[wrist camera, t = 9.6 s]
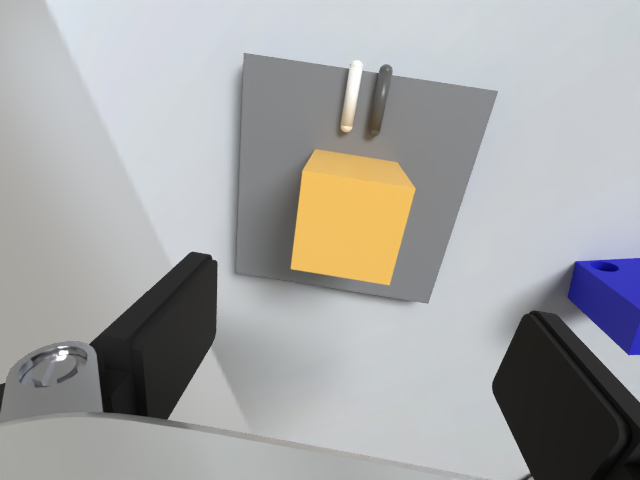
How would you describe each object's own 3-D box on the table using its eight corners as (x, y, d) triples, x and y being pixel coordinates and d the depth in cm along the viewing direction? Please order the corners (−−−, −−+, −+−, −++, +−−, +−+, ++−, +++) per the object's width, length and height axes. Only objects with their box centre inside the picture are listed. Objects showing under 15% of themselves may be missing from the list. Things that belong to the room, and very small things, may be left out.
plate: (423, 292, 25) (444, 347, 20) (241, 262, 25) (212, 309, 20) (490, 82, 19) (546, 79, 14) (251, 46, 19) (213, 29, 14)
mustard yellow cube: (379, 237, 22) (389, 285, 17) (305, 225, 22) (290, 268, 17) (397, 162, 20) (415, 188, 14) (315, 149, 20) (302, 170, 15)
